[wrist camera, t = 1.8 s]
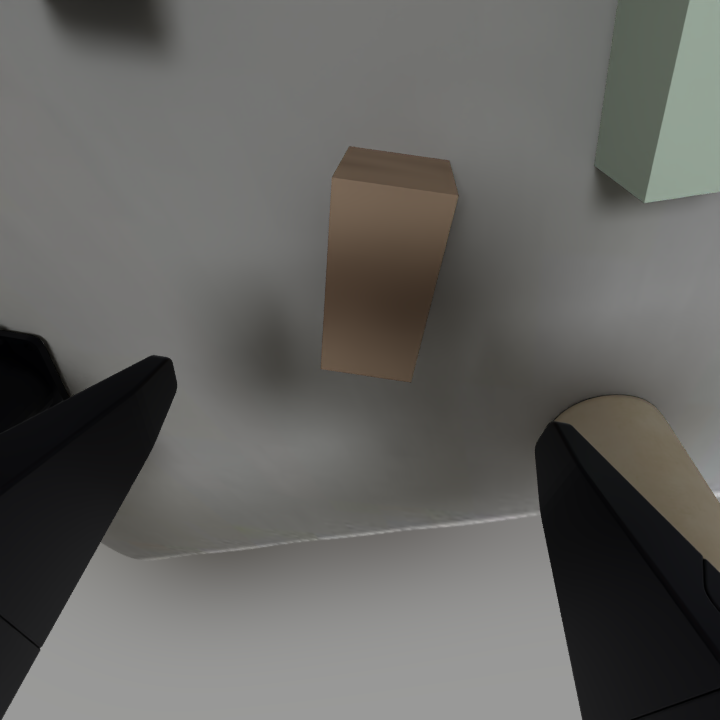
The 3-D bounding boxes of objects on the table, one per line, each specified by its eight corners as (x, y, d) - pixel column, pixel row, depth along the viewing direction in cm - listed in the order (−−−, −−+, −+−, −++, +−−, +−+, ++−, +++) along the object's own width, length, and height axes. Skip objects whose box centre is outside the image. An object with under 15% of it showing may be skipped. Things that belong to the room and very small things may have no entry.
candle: (609, 376, 19) (742, 610, 11) (687, 423, 20) (852, 661, 13) (523, 437, 22) (581, 652, 15) (595, 474, 24) (683, 689, 16)
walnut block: (411, 324, 19) (410, 382, 16) (336, 312, 19) (320, 369, 16) (448, 159, 14) (458, 195, 11) (349, 145, 14) (332, 177, 11)
